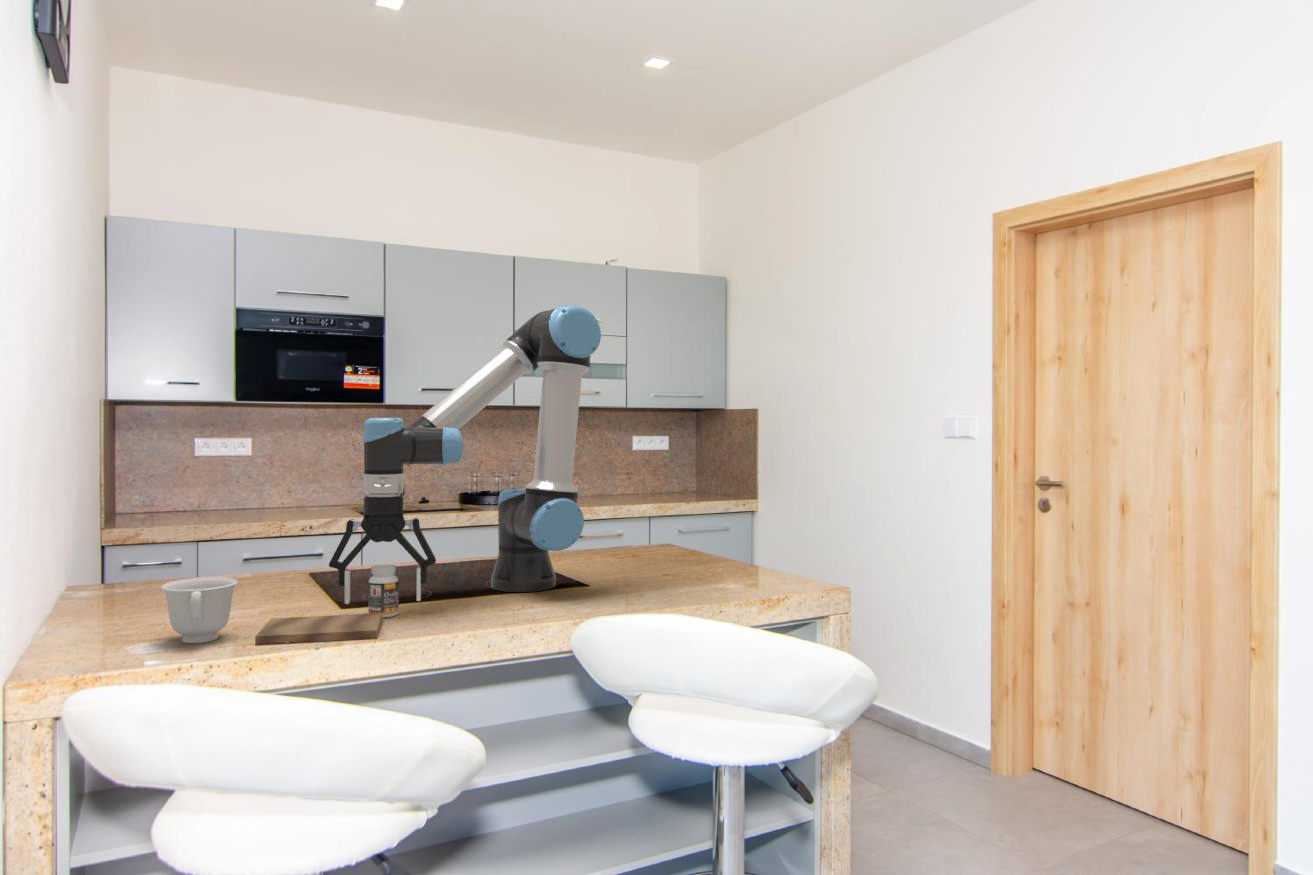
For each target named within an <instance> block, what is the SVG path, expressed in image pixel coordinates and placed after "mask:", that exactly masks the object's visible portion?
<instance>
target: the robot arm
mask: <svg viewBox="0 0 1313 875" xmlns="http://www.w3.org/2000/svg"><path fill="white" fill-rule="evenodd" d="M601 333H602V332H601V326H600V324H599V322H598V320H597V318H596V317H595V316H594V314H593V313H592V312H591V311H590V310H588V308H587V309H586V308H585V307H583V306H581V305H576V304H575V305H574V304H573V305H561V306H558V307H557V308H556V307H555V308H552V309H549V310H548V309H547V310H544V311H543V310H542V311H541V312H538V313H537V314H535V315H533V316H532V317H530V318H529V319H528V320H527V321H526V322H525V323H523V324H522V326H520V327H519V328H518V329H517V330H516V331H515V332H513V333H512V334H511V335H510V336H509V337H508V338H507V339H505V340H504V341H503V342H502V349H500V350H499V351H498V352H497V353H495V355H493V356H492V357H491V358H490V359H488V360H487V361H486V362H484V363H483V364H482V365H481V366H480V367H478V369H476V370H475V371H474V372H472V374H470V375H469V376H467V377H466V378H465V379H463V381H462V382H461V383H459V384H458V385H457V386H456V387H454V388H453V389H452V390H451V391H450V392H448V393H447V394H446V395H445V396H444V397H442V398H441V399H440V400H439V401H438V402H436V403H435V404H434V405H433V406H431V407H430V408H429V409H428V410H427V411H425V413H423V414H422V415H421V416H420V417H418V418H417V419H416V420H415V421H414V422H413V423H411V424H410V425H409V426H405V425H404V420H403V419H402V418H400V417H370V418H368V419H367V420H365V422H364V430H363V440H362V442H363V493H364V494H365V495H366V496H364V497H363V518H362V520H355V519H353V518H350V519H348V520H347V521H346V528H345V532H344V534H343V536H342V537H341V540H340V542H339V544H338V546H337V547H336V549H335V551H334V553H333V556H332V558H330V561H329V563H328V566H329V567H330V568H332V569H335V570H338V586H339V587H344V605H349V604H350V602H351V568H347V567H348V566H349V565H350V564H351V562H353V560H354V559H355V558H356V557H357V556H358V554H359V553H360V552H361V551H362V550H363V549H364V547H365V546H366V545H367V544H368V543H369V542H370V540H371V541H373V542H374V543H381V542H386V543H392V542H393V541H395V540H396V542H398V544H400V545H401V546H402V547H403V549H404V550H405V551H406V552H407V553H408V554H409V555H410V557H412V558H413V560H414V561H415V562H416V563H417V564H418V566H416V602H421V600H422V599H421V598H422V597H421V596H422V588H421V587H422V584H427V581H428V578H427V576H428V575H427V574H428V573H427V572H428V570H427V568H428V567H429V566H432V565H434V564H436V562H437V559H436V556H435V555H434V553H433V551H432V548H431V547H430V545H429V542H428V541H427V539H426V537H425V535H424V534H423V532H422V529H421V526H420V525H421V524H420V520H419V519H420V518H418V517H414V518H413V519H405V517H404V496H402V495H401V494H402V493H403V492H404V465H443V466H445V465H450V464H452V465H453V464H458V463H459V462H460V460H462V457H463V453H464V439H463V438H464V437H463V435H462V433H461V431H460V430H459V429H461V428H462V427H463V426H464V425H466V424H467V423H468V422H469V421H471V419H473V418H474V417H475V416H476V415H477V414H479V413H480V412H481V411H482V410H483V409H484V408H485V407H486V406H488V405H489V404H491V402H493V401H494V400H495V399H496V398H497V397H499V396H500V395H501V394H503V392H504V391H506V390H507V389H508V388H509V387H510V386H511V385H513V384H514V383H515V382H516V381H517V380H519V379H520V378H521V377H522V376H523V375H530V374H532V373H533V372H535V371H536V370H537V369H539V368H540V370H541V371H542V372H543V374H542V383H541V384H542V385H541V394H540V406H539V416H538V426H537V437H536V438H537V439H536V446H535V447H536V449H535V459H534V460H535V461H534V472H533V478H532V481H531V482H529V483H528V484H527V485H525V487H524V488H513V489H505V490H502V491H501V492H499V495H498V503H497V508H498V510H497V511H498V512H497V513H498V514H497V516H498V519H497V521H498V526H497V527H498V555H497V559H496V561H495V565H494V567H493V571H492V574H491V577H490V588H491V589H492V590H495V591H499V592H500V591H501V592H509V593H531V592H538V591H539V592H541V591H546V590H550V589H553V588H556V584H557V580H556V579H557V577H556V573H555V572H556V571H555V569H554V567H553V564H552V563H553V562H552V559H551V558H550V553H549V551H551V552H560V551H563V550H566V549H568V548H570V547H571V546H573V545H574V544H575V543H576V542H577V541H578V540H579V538H580V537H581V535H582V532H583V530H584V527H585V526H584V525H585V517H584V513H583V510H582V509H581V507H580V506H579V504H578V495H579V490H578V489H577V487H576V486H575V485H574V484H573V476H574V464H575V453H576V444H577V443H576V442H577V431H578V422H579V410H580V401H581V400H580V399H581V388H582V378H583V375H585V374H586V373H587V372H588V371H589V370H590V364H591V355H593V353H595V351H597V349H598V348H599V346H600V343H601V340H602V339H601V338H602V334H601ZM406 526H407V527H408V528H409V530H410V531H413V534H414V535H415V537H416V539H417V541H418V542H419V545H420V547H421V548H422V551H423V552H424V554H425V556H426V558H424V557H423V556H422V555H421V554H420V553H419V552H418V550H417V549H416V548H415V547H414V546H413V545H412V544H411V543H410V542H409V540H408V539H407V537H405V536H404V535H403V533H402V532H403V529H404V528H406ZM358 528H361V529H362V530H363V531H364V533H365V535H364V536H363V538H362V539H361V540H360V541H359V542H358V544H357V545H355V547H353V549H352V550H351V551H350V552H349V554H348V555H347V556H346V557H345V558H344V559H343V561H339V560H340V558H341V556H342V554H343V553H344V551H345V548H346V546H347V544H348V542H349V541H350V539H351V537H352V535H353V532H356V531H357V530H358Z"/></svg>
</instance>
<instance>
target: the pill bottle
mask: <svg viewBox="0 0 1313 875" xmlns="http://www.w3.org/2000/svg"><path fill="white" fill-rule="evenodd" d="M396 567H397V566H396V564H392V563H389V564H388V563H384V564H383V563H382V564H375V565H374V564H373V565H372V566H371V568H370V572H371V574H372V576H371V577H370V578H369V580H368V614H375V613H382V619H384V618H385V617H386V618H391V617H395V616H397V615H398V614H399V601H400V600H399V599H400V598H399V593H400V592H399V591H400V589H399V586H400V585H399V583H400V582H399V578H398V576H397V575H396V572H397V571H396V569H397V568H396Z"/></svg>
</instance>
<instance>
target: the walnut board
mask: <svg viewBox="0 0 1313 875" xmlns="http://www.w3.org/2000/svg"><path fill="white" fill-rule="evenodd" d="M381 622H383V618H382V613H375V614H369V613H359V614H354V613H353V614H337V615H318V616H316V615H315V616H313V615H312V616H298V617H297V616H296V617H295V616H293V617H276V618H275V617H274V618H273V617H272V618H270V619H269V620H268V621H267V622H266V623H265V625H264V626H263V627H262V628H261V629H260V630H259V632H258V633H257V634H256V635H254V636H255V641H254V642H255V646H261V645H260V644H267V645H271V644H270V643H285V644H289V643H288V642H304V643H317V642H318V643H319V642H337V641H340V642H341V641H354V640H355V641H356V640H357V641H359V640H374V639H378V635H379V632H380V628H381V626H382V623H381ZM286 642H287V643H286Z"/></svg>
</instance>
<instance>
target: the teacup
mask: <svg viewBox="0 0 1313 875" xmlns="http://www.w3.org/2000/svg"><path fill="white" fill-rule="evenodd" d="M238 583H239V581H238V580H237V579H235V578H232V577H224V576H223V577H220V576H219V577H217V576H216V577H215V576H213V577H212V576H210V577H194V578H187V579H180V580H179V579H178V580H173V581H170V582H166V583H164V584H162V585H161V586H160V589H161V590H162V591H163V592H164V594H165V597H166V603H167V612H168V617H169V618H168V619H169V621H170V625H171V628H172V630H174V631H175V632H176V633H178V634H179V635H182V637H181V638H182V639H181V642H182V643H184V644H203V643H209V642H213V641H216V640H217V639H219V633H218V632H219V631H221V630H222V629H224V627H226V625H227V624H228V622H229V619H230V614H231V607H232V603H233V602H232V601H233V600H232V599H233V594H234V590H235V587H236V585H238Z"/></svg>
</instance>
